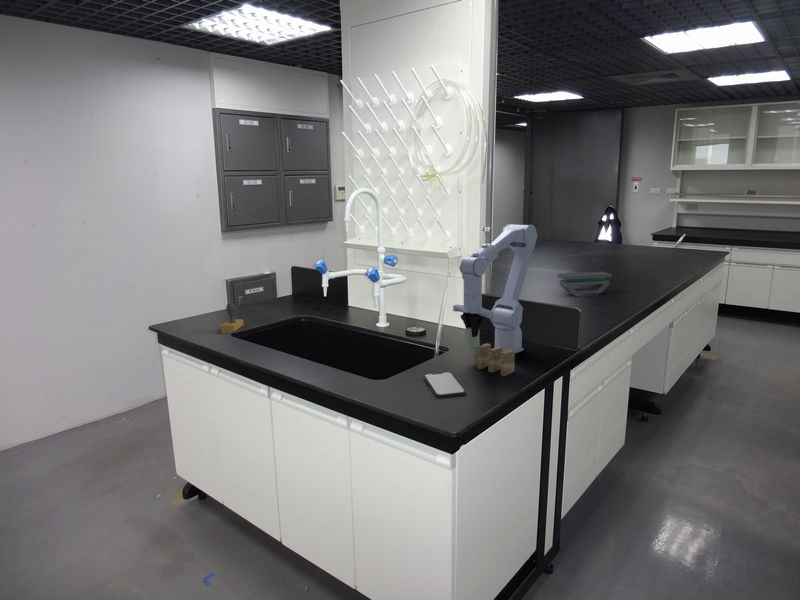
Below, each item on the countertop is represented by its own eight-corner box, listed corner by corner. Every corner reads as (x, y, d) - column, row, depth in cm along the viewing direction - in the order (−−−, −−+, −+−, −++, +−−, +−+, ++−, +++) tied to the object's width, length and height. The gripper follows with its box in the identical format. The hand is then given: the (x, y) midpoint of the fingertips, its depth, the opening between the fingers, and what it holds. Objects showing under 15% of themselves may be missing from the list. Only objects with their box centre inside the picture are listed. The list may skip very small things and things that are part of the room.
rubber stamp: (234, 334, 213) (232, 305, 210) (221, 334, 213) (218, 305, 211) (244, 327, 223) (241, 300, 220) (231, 327, 223) (228, 300, 221)
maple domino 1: (476, 368, 166) (476, 346, 164) (486, 364, 169) (486, 343, 167) (480, 369, 164) (481, 347, 163) (490, 365, 168) (490, 344, 166)
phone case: (467, 397, 145) (450, 376, 160) (467, 392, 144) (450, 371, 159) (436, 400, 143) (422, 379, 158) (436, 395, 143) (422, 374, 158)
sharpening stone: (602, 292, 273) (603, 271, 271) (610, 295, 266) (611, 274, 263) (557, 294, 270) (557, 273, 268) (563, 297, 263) (564, 276, 260)
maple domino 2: (488, 371, 162) (488, 349, 161) (497, 367, 166) (498, 346, 164) (492, 372, 161) (492, 350, 160) (502, 368, 165) (502, 347, 163)
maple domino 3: (500, 374, 159) (500, 352, 158) (509, 370, 163) (510, 349, 161) (504, 376, 158) (505, 353, 157) (514, 371, 162) (514, 350, 160)
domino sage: (465, 349, 168) (465, 328, 166) (475, 345, 171) (475, 324, 169) (469, 350, 167) (469, 329, 165) (479, 346, 170) (479, 325, 168)
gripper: (446, 293, 167) (447, 334, 170) (483, 299, 157) (483, 343, 160) (460, 290, 172) (461, 330, 175) (497, 296, 162) (496, 338, 165)
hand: (472, 336), depth 168 cm, fingers closed on domino sage, 1 cm apart
